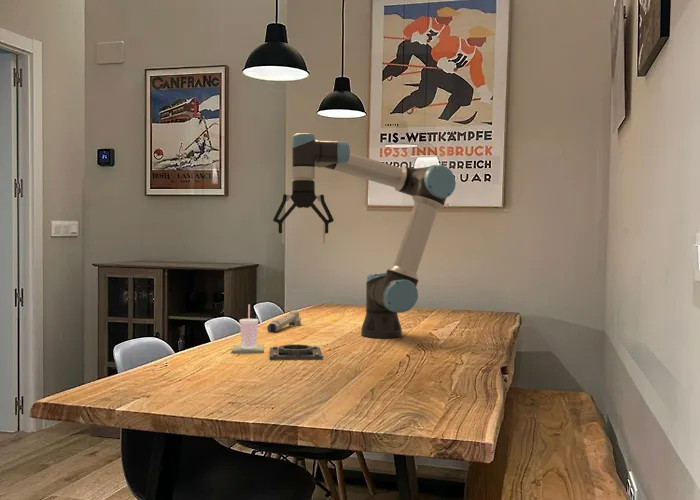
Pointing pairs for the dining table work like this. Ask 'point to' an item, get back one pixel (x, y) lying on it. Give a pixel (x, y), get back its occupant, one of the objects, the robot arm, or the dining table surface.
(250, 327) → the beverage cup
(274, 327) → the tan tube
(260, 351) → the pad
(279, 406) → the dining table surface
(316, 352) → the flange
